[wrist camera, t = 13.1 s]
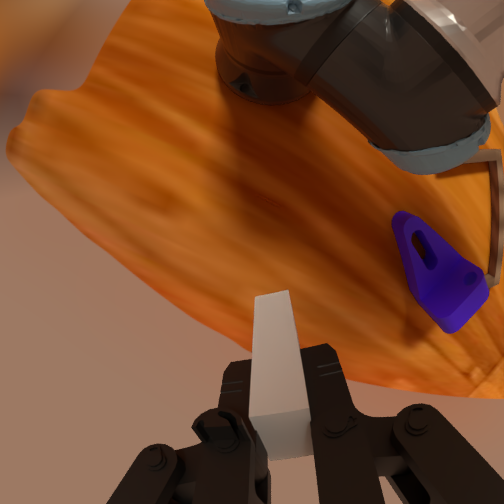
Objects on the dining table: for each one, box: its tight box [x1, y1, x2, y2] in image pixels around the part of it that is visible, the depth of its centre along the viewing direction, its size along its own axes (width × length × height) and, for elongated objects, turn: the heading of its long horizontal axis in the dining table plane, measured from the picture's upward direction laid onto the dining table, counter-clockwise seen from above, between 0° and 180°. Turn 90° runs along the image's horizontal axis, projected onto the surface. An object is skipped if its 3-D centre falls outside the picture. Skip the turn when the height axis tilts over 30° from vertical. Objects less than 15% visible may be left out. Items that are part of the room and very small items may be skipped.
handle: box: [463, 149, 504, 289], centre depth 37 cm, size 28×17×2 cm, turn 14°
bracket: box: [392, 211, 489, 334], centre depth 35 cm, size 18×11×12 cm, turn 45°
